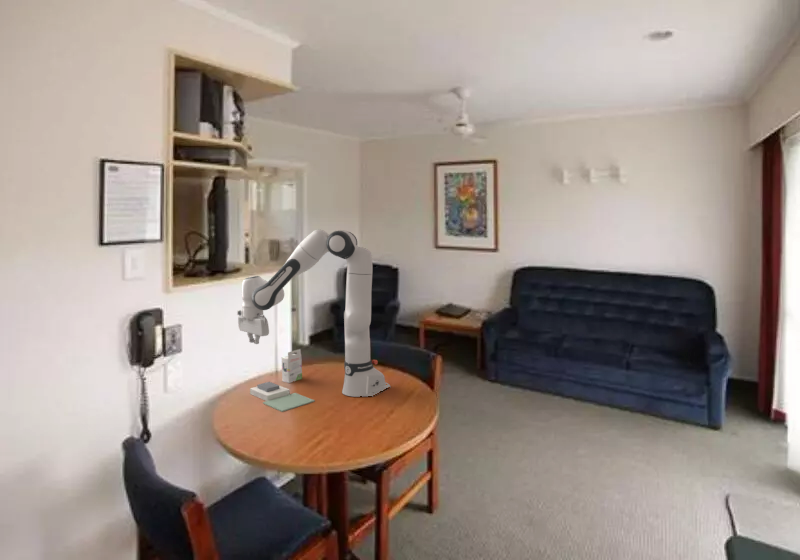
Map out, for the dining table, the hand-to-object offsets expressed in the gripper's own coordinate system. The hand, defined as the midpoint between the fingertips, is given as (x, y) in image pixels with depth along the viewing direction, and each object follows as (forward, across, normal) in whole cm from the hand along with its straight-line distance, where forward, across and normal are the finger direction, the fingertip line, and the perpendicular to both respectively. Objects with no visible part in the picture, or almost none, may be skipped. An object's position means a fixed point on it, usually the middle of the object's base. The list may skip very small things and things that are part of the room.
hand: (254, 343), depth 221 cm
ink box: (+21, -1, -18) cm, 28 cm away
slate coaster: (+19, -10, 0) cm, 21 cm away
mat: (+21, -26, 0) cm, 33 cm away
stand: (+21, -11, 0) cm, 24 cm away
